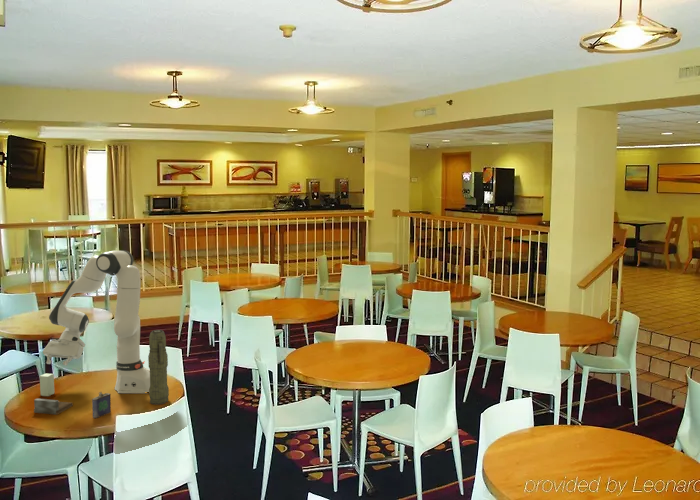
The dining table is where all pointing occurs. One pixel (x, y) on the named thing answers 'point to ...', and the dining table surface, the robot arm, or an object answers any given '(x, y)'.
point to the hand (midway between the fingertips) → (56, 364)
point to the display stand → (50, 406)
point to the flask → (101, 405)
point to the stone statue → (158, 368)
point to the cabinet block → (47, 384)
